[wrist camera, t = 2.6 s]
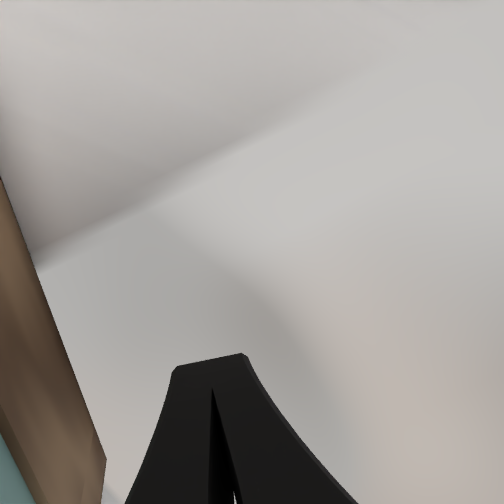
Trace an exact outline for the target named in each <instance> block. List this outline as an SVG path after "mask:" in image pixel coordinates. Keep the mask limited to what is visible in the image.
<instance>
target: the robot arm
mask: <svg viewBox="0 0 504 504" xmlns="http://www.w3.org/2000/svg"><path fill="white" fill-rule="evenodd" d="M234 495H235V499H236V503H237V504H358V503H357V502H356V501H355V500H354V499H353V498H352V497H351V496H350V495H349V493H348V492H346V490H345V489H344V488H343V487H342V486H341V485H340V484H339V483H338V482H337V481H336V479H335V478H334V477H333V476H332V475H331V474H330V473H329V472H328V470H327V469H326V468H325V467H324V466H323V465H322V464H321V462H320V461H319V460H318V459H317V458H316V457H315V455H314V454H313V453H312V452H311V451H310V449H309V448H308V447H307V446H306V445H305V443H304V442H303V441H302V440H301V438H299V436H298V435H297V433H296V432H295V431H294V429H293V428H292V427H291V425H290V424H289V423H288V421H287V420H286V419H285V417H284V416H283V415H282V414H281V412H280V411H279V409H278V408H277V407H276V405H275V404H274V402H273V401H272V399H271V398H270V396H269V395H268V393H267V392H266V390H265V388H264V387H263V385H262V384H261V382H260V381H259V379H258V377H257V375H256V373H255V372H254V369H253V367H252V366H251V363H250V361H249V359H248V357H247V356H246V355H244V354H242V353H239V354H234V355H230V356H224V357H219V358H215V359H210V360H205V361H200V362H195V363H190V364H185V365H180V366H177V367H176V368H175V369H174V370H173V372H172V374H171V379H170V384H169V387H168V391H167V395H166V399H165V402H164V405H163V408H162V411H161V414H160V417H159V420H158V423H157V426H156V429H155V431H154V434H153V437H152V439H151V442H150V444H149V447H148V450H147V452H146V455H145V457H144V460H143V463H142V465H141V468H140V470H139V472H138V475H137V477H136V479H135V481H134V484H133V486H132V488H131V490H130V492H129V495H128V497H127V499H126V501H125V504H234Z"/></svg>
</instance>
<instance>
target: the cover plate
mask: <svg viewBox="0 0 504 504" xmlns="http://www.w3.org/2000/svg"><path fill="white" fill-rule="evenodd" d="M0 504H36V503H35V501H34V499H33V497H32V495H31V493H30V491H29V489H28V487H27V485H26V483H25V481H24V479H23V477H22V475H21V473H20V471H19V469H18V467H17V465H16V463H15V461H14V459H13V457H12V455H11V453H10V451H9V449H8V447H7V445H6V443H5V441H4V440H3V438H2V436H1V434H0Z"/></svg>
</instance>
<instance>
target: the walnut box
mask: <svg viewBox="0 0 504 504" xmlns="http://www.w3.org/2000/svg"><path fill="white" fill-rule="evenodd" d="M0 434H1V436H2V438H3V440H4V441H5V443H6V445H7V447H8V449H9V451H10V453H11V455H12V457H13V459H14V461H15V463H16V465H17V467H18V469H19V471H20V473H21V475H22V477H23V479H24V481H25V483H26V485H27V487H28V489H29V491H30V493H31V495H32V497H33V499H34V501H35V503H36V504H101V498H102V490H103V483H104V475H105V468H106V460H107V459H106V456H105V453H104V451H103V448H102V445H101V443H100V440H99V437H98V435H97V432H96V430H95V427H94V424H93V422H92V419H91V416H90V414H89V411H88V408H87V406H86V403H85V400H84V398H83V395H82V393H81V390H80V387H79V385H78V382H77V379H76V376H75V374H74V371H73V369H72V366H71V364H70V361H69V358H68V355H67V353H66V350H65V347H64V345H63V342H62V339H61V337H60V334H59V331H58V329H57V326H56V324H55V321H54V318H53V315H52V313H51V310H50V308H49V305H48V303H47V300H46V297H45V295H44V292H43V289H42V286H41V284H40V281H39V278H38V276H37V273H36V270H35V268H34V265H33V262H32V260H31V257H30V254H29V252H28V249H27V247H26V244H25V241H24V239H23V236H22V233H21V231H20V228H19V225H18V223H17V220H16V217H15V215H14V212H13V209H12V207H11V204H10V201H9V199H8V196H7V194H6V191H5V188H4V186H3V183H2V180H1V178H0Z"/></svg>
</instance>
